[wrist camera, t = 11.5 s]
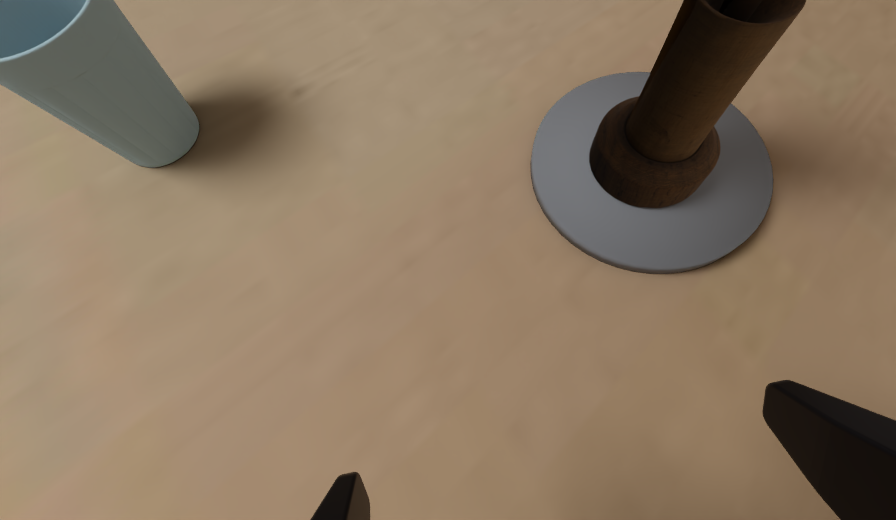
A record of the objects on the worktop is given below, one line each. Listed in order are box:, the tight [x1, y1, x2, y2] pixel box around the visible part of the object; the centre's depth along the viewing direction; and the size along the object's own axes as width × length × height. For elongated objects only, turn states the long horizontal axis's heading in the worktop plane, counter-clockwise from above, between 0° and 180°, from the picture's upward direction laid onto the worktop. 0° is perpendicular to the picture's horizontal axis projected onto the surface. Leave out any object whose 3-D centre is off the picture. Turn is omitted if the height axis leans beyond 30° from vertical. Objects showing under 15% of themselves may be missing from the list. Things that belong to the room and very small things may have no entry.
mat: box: [531, 72, 773, 274], centre depth 26 cm, size 14×14×1 cm
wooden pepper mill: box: [589, 0, 806, 208], centre depth 17 cm, size 7×6×18 cm
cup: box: [0, 0, 199, 167], centre depth 26 cm, size 8×8×10 cm
